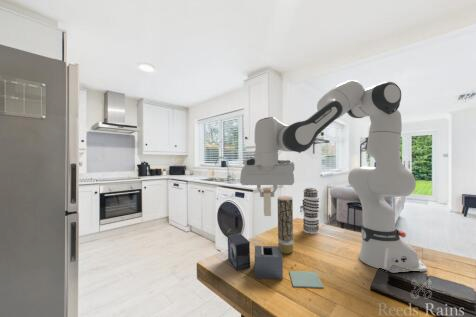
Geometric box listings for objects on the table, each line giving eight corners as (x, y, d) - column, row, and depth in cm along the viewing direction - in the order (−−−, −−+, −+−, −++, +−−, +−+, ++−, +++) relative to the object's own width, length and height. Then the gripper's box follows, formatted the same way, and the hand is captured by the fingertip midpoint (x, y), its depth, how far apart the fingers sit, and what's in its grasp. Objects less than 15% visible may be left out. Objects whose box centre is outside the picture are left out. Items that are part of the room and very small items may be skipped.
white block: (270, 212, 82) (269, 186, 81) (271, 215, 76) (270, 188, 76) (263, 212, 82) (263, 186, 82) (264, 215, 77) (263, 188, 77)
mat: (316, 272, 78) (316, 271, 78) (323, 288, 69) (323, 286, 69) (289, 271, 79) (289, 270, 79) (293, 286, 70) (293, 285, 70)
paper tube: (293, 254, 93) (292, 199, 92) (278, 253, 94) (277, 198, 94) (292, 248, 99) (292, 196, 99) (278, 247, 101) (277, 195, 100)
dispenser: (280, 266, 84) (279, 245, 83) (282, 279, 75) (282, 256, 74) (255, 265, 84) (254, 244, 84) (254, 278, 76) (254, 255, 75)
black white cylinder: (322, 233, 117) (322, 189, 117) (307, 234, 115) (307, 190, 115) (314, 227, 126) (313, 186, 126) (299, 229, 124) (299, 187, 124)
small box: (227, 258, 90) (226, 234, 90) (240, 255, 93) (240, 232, 93) (235, 271, 80) (235, 244, 80) (251, 267, 83) (250, 241, 83)
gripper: (292, 159, 81) (293, 195, 81) (240, 160, 83) (241, 195, 83) (295, 160, 75) (296, 198, 75) (239, 161, 77) (240, 198, 77)
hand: (267, 196), depth 79 cm, fingers closed on white block, 2 cm apart
